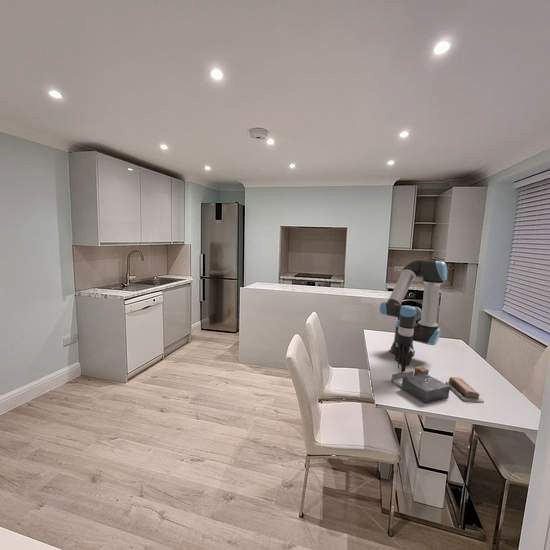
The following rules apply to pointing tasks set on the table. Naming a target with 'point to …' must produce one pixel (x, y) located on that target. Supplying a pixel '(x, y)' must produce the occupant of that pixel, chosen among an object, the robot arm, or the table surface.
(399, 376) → the tray
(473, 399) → the packaged product
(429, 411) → the table surface
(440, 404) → the table surface
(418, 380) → the housing
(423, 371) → the block
